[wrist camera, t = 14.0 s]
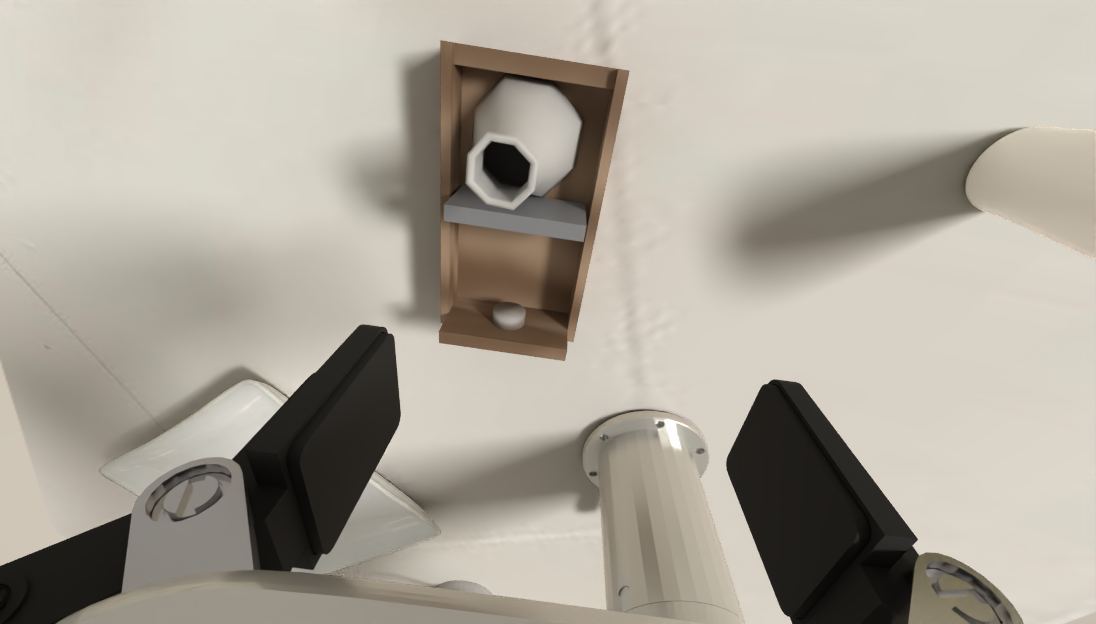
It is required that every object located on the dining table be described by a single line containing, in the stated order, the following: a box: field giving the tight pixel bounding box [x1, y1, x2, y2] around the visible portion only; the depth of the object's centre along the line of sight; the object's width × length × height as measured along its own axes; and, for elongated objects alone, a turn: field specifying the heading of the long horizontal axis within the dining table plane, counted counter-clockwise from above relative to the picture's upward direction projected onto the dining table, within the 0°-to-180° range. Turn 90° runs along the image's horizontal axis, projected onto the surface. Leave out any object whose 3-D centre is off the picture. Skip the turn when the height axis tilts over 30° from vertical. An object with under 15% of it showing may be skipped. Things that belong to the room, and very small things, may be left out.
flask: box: [465, 72, 584, 210], centre depth 22 cm, size 7×7×10 cm
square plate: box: [99, 379, 441, 574], centre depth 46 cm, size 27×27×4 cm
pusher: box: [444, 185, 587, 242], centre depth 26 cm, size 1×8×5 cm, turn 83°
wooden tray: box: [439, 41, 629, 361], centre depth 27 cm, size 18×10×6 cm, turn 172°
